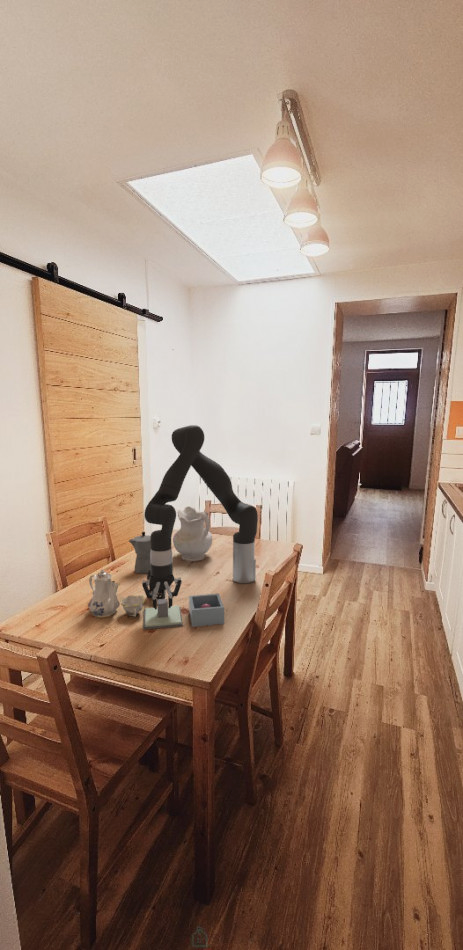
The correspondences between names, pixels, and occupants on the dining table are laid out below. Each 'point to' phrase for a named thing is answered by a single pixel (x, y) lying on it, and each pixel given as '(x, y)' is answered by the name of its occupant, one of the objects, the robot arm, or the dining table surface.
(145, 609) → the mat
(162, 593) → the black battery charger
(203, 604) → the plum
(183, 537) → the ceramic pitcher
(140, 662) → the dining table surface
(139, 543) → the coffeepot
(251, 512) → the robot arm
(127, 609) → the chinaware
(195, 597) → the square storage bin
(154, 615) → the cover
